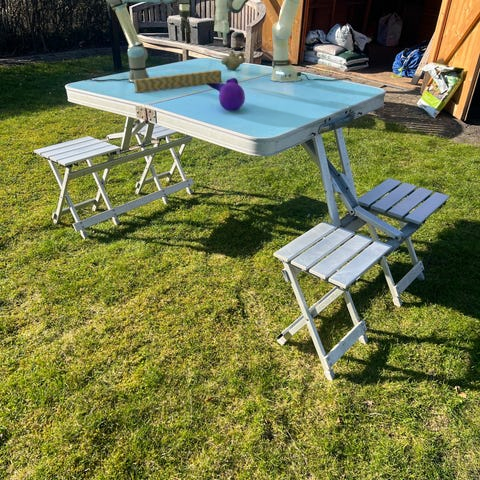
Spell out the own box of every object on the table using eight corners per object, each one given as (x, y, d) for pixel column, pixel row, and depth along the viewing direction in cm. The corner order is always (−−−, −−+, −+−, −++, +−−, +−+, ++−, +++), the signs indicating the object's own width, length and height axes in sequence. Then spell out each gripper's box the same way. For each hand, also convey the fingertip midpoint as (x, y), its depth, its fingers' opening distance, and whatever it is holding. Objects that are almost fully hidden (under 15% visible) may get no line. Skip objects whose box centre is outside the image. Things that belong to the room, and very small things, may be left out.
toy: (230, 101, 277) (244, 117, 257) (203, 96, 270) (216, 112, 249) (236, 75, 269) (252, 89, 249) (209, 70, 262) (222, 84, 241)
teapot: (225, 72, 364) (224, 52, 356) (218, 70, 372) (217, 50, 365) (247, 69, 373) (247, 50, 365) (240, 67, 381) (240, 48, 374)
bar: (137, 93, 304) (135, 80, 300) (135, 91, 308) (133, 79, 304) (221, 82, 331) (221, 70, 327) (218, 81, 334) (218, 69, 330)
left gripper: (194, 11, 320) (195, 43, 331) (184, 9, 340) (186, 40, 351) (184, 11, 318) (185, 44, 329) (175, 9, 338) (177, 40, 349)
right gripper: (231, 18, 302) (231, 40, 309) (221, 15, 319) (221, 37, 326) (222, 18, 300) (222, 40, 307) (213, 16, 317) (213, 37, 324)
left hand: (186, 42), depth 340 cm, fingers open, 13 cm apart
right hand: (222, 38), depth 317 cm, fingers open, 8 cm apart
